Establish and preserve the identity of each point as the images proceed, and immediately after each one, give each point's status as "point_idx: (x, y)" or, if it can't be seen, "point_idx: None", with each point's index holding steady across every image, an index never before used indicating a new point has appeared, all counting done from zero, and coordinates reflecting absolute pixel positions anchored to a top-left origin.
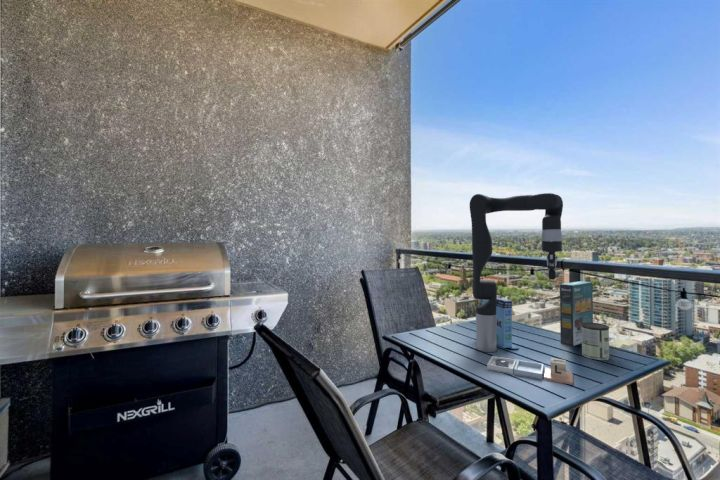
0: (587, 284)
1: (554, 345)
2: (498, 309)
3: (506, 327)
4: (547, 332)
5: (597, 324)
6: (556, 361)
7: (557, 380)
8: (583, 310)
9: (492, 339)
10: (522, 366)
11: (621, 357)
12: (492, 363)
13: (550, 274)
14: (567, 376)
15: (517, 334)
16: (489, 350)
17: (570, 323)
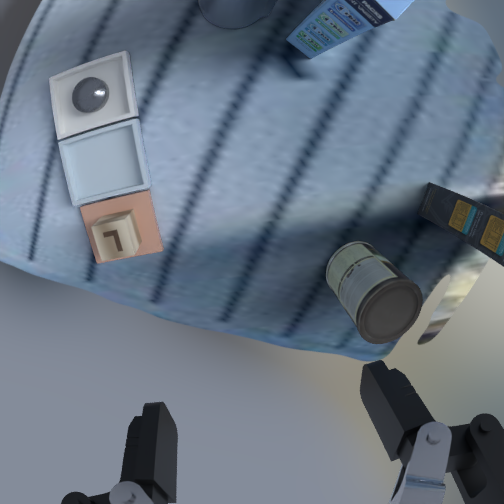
0: None
1: (400, 169)
2: None
3: (315, 28)
4: (496, 145)
5: (405, 315)
6: (106, 238)
7: (88, 233)
8: None
9: (212, 10)
10: (123, 137)
11: None
12: (95, 68)
13: (128, 449)
14: None
15: (448, 67)
16: (204, 15)
17: (458, 228)
